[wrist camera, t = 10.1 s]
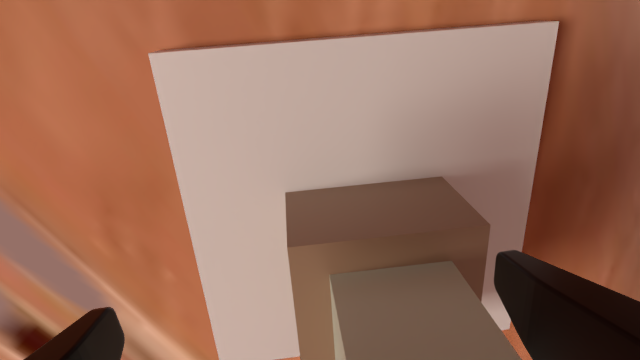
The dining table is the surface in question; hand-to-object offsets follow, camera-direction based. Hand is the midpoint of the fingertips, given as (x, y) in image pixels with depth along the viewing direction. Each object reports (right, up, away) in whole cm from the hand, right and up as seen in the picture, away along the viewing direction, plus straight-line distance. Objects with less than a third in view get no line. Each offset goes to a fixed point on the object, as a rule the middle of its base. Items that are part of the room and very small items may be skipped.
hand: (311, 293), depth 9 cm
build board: (+2, +1, +13) cm, 13 cm away
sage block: (+3, -3, +7) cm, 9 cm away
